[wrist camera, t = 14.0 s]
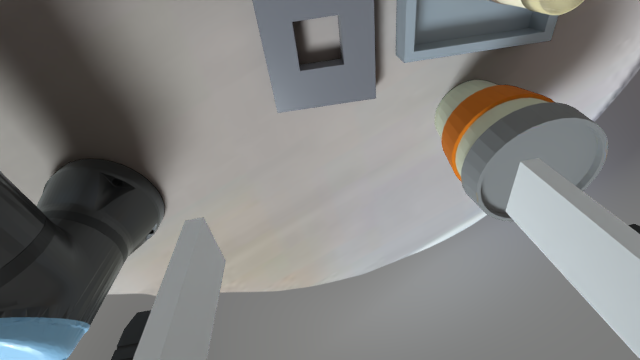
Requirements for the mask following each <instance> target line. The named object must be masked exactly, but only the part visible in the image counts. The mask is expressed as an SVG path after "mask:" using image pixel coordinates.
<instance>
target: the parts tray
mask: <svg viewBox="0 0 640 360" xmlns="http://www.w3.org/2000/svg"><path fill="white" fill-rule="evenodd" d="M557 18H558V15H549V14H544V13H539V12H534V11H530V10H528V9H527V8H522V7H517V6H512V5H504V4H499V3H494V2H491V1H487V0H397V15H396V56H398V57H399V58H400V59H401V60H402V61H403V62H404V63H406V62H413V61H419V60H426V59H433V58H439V57H446V56H452V55H459V54H466V53H472V52H479V51H485V50H492V49H499V48H505V47H512V46H519V45H525V44H532V43H538V42H545V41H551V38H552V35H553V32H554V28H555V25H556V22H557Z"/></svg>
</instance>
